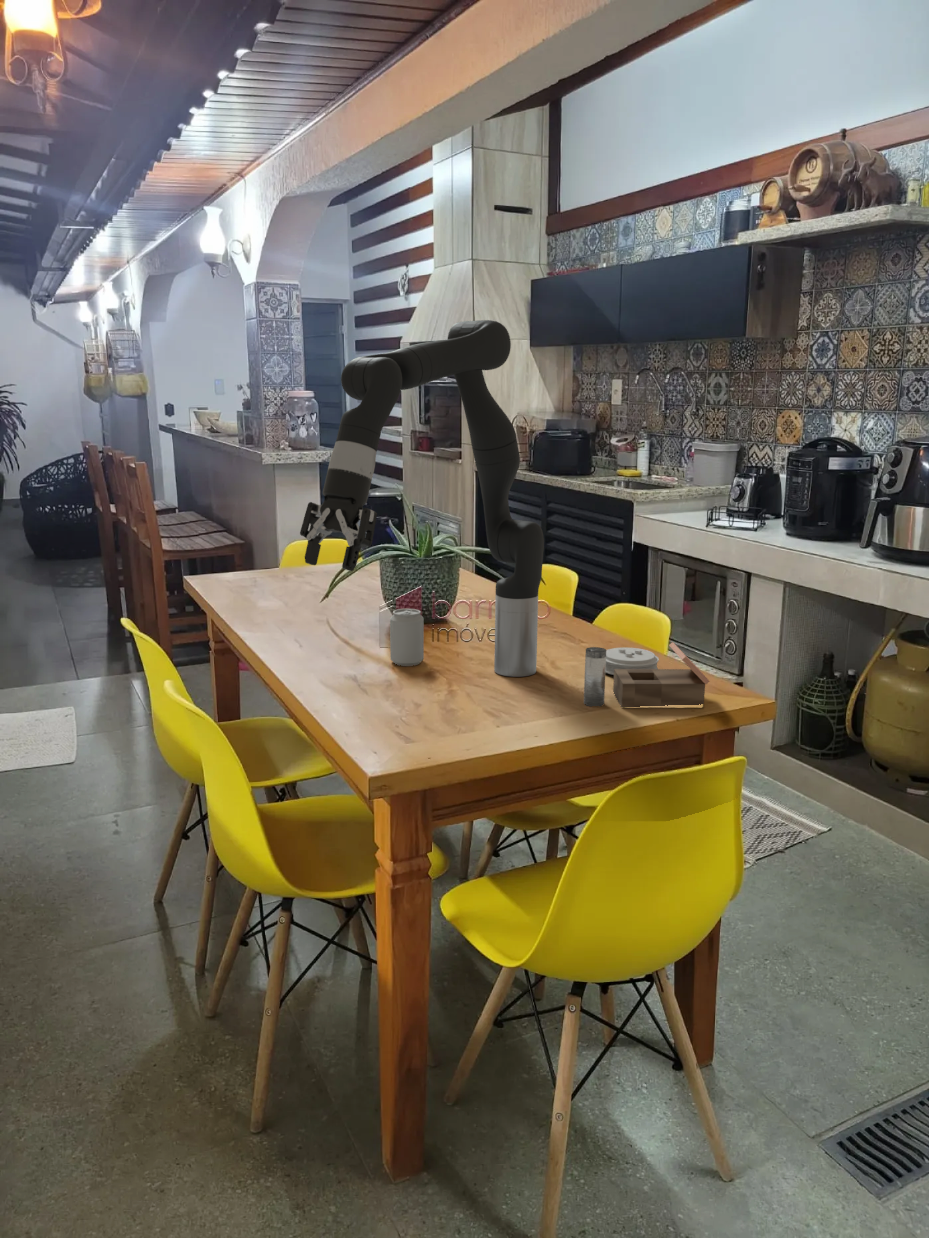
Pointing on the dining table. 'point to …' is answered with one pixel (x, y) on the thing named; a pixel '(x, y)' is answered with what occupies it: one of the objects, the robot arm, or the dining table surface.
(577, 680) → the dining table surface
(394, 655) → the can
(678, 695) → the socket block
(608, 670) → the lid
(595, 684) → the pin
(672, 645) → the pink flat board
